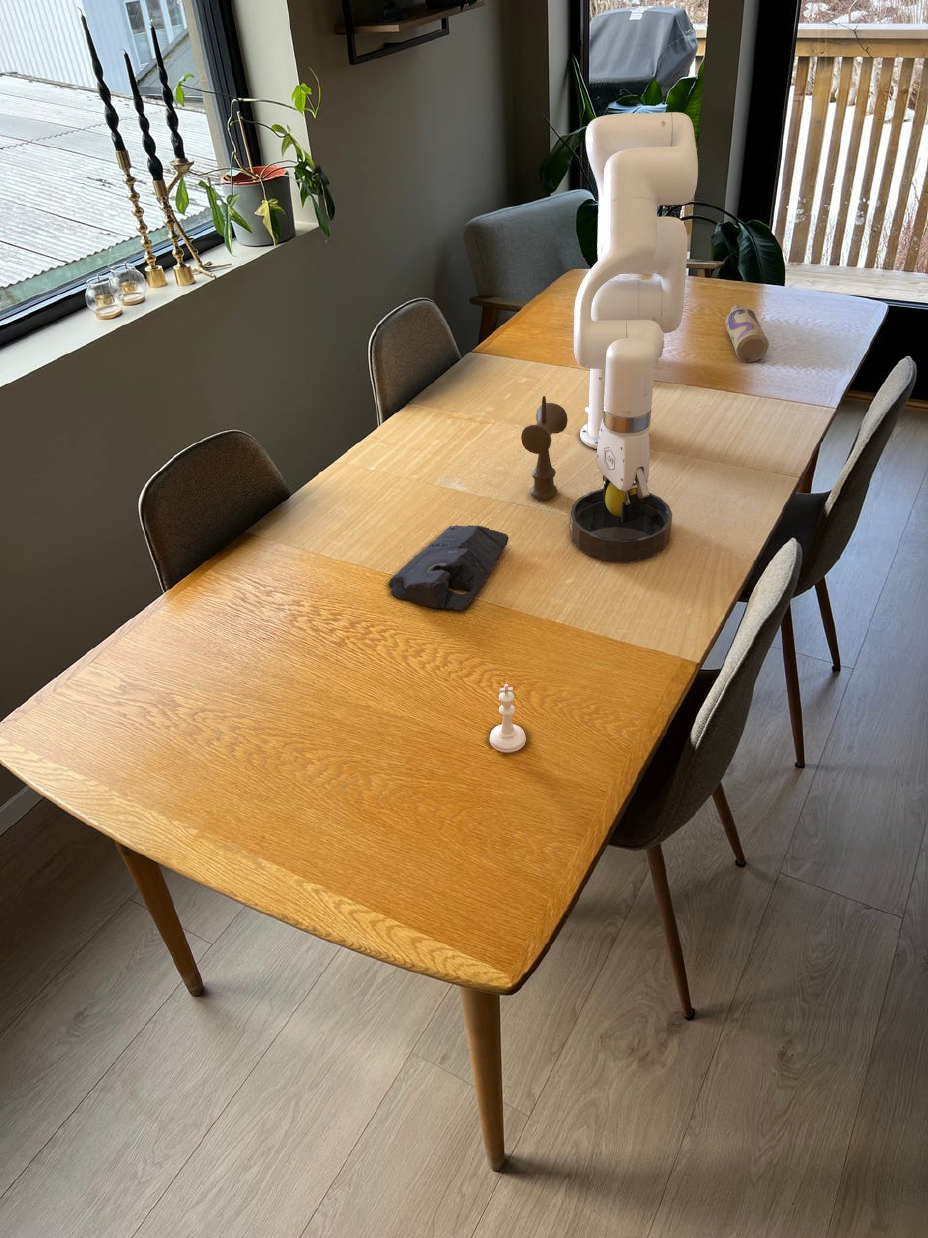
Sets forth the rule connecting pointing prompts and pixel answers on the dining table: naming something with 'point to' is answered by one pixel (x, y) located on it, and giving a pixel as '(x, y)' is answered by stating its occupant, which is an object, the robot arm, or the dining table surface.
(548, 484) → the kendama
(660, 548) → the pan
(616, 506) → the lemon
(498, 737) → the chess piece
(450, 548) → the dark slate chunk
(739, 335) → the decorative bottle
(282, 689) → the dining table surface
